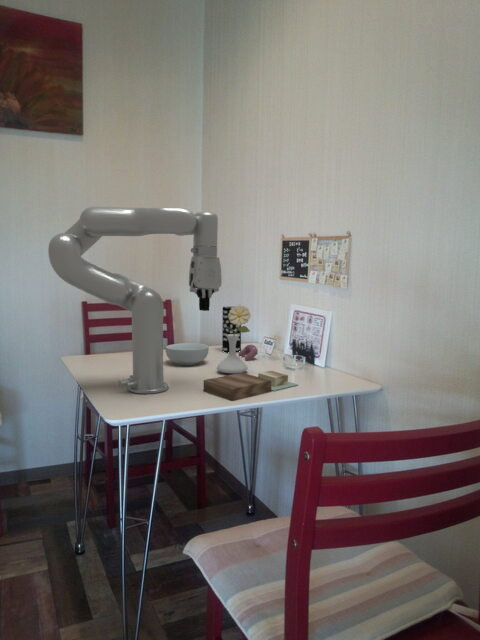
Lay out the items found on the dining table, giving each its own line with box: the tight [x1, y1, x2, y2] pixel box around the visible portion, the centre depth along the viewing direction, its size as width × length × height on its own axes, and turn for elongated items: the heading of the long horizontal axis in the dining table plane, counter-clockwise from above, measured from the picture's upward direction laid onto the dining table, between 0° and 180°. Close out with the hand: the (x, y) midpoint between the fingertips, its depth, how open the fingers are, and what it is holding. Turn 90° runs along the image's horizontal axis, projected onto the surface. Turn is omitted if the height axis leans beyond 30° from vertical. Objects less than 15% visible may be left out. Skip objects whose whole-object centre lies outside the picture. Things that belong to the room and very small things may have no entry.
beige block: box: [257, 370, 289, 387], centre depth 161 cm, size 6×8×3 cm
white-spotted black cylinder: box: [221, 306, 242, 353], centre depth 217 cm, size 8×8×20 cm
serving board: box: [203, 372, 272, 401], centre depth 151 cm, size 16×14×4 cm
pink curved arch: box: [238, 344, 259, 362], centre depth 202 cm, size 10×5×7 cm, turn 18°
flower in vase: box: [216, 304, 252, 375], centre depth 175 cm, size 13×11×25 cm
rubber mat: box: [271, 381, 299, 393], centre depth 161 cm, size 12×15×1 cm
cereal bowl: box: [165, 342, 210, 366], centre depth 192 cm, size 17×17×7 cm
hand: (204, 310), depth 155 cm, fingers closed
